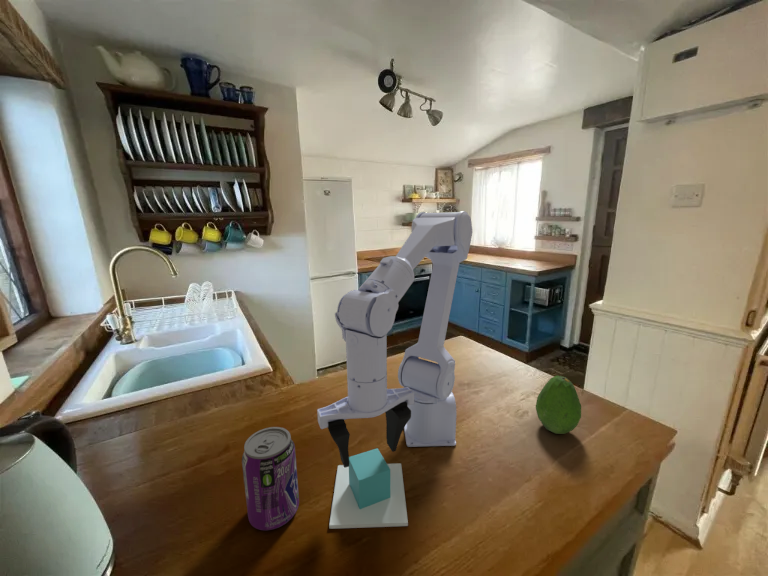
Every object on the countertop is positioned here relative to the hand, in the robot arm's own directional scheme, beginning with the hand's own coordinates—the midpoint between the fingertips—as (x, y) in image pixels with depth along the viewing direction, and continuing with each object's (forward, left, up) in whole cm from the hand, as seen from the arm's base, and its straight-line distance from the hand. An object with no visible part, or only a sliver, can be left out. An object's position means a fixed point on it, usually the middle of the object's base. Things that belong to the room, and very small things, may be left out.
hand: (369, 454), depth 48 cm
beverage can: (+14, +3, -7) cm, 16 cm away
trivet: (0, 0, -7) cm, 7 cm away
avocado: (-38, -14, -7) cm, 41 cm away
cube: (0, 0, -7) cm, 7 cm away
